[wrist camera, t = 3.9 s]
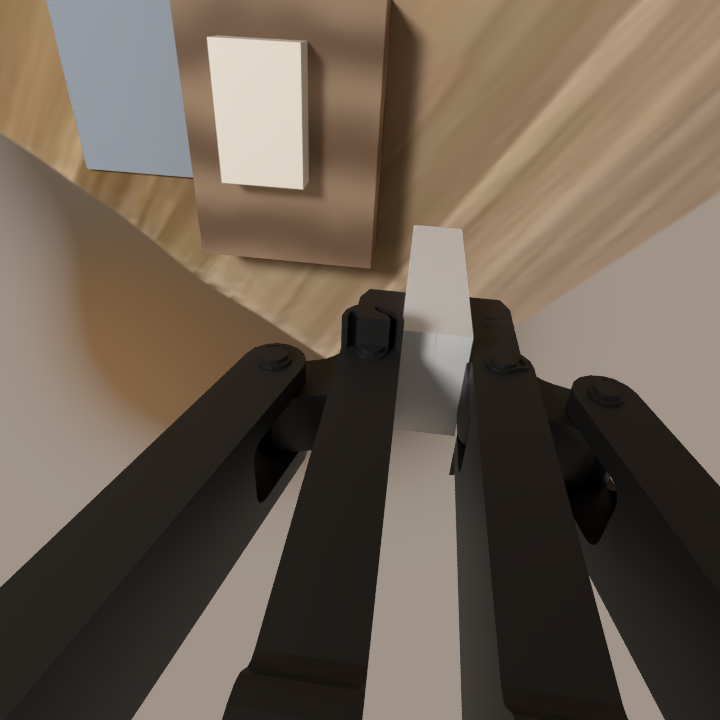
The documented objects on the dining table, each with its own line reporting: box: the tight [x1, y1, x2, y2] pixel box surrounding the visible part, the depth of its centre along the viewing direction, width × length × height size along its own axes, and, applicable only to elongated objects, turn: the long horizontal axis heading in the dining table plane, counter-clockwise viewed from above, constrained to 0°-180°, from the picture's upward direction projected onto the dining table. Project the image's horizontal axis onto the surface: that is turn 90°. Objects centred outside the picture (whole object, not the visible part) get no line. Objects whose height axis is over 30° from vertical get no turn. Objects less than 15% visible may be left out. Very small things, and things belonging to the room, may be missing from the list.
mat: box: [46, 0, 193, 178], centre depth 40 cm, size 13×11×1 cm
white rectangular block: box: [207, 35, 309, 190], centre depth 36 cm, size 9×6×2 cm, turn 178°
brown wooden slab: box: [170, 0, 392, 269], centre depth 39 cm, size 18×14×4 cm
